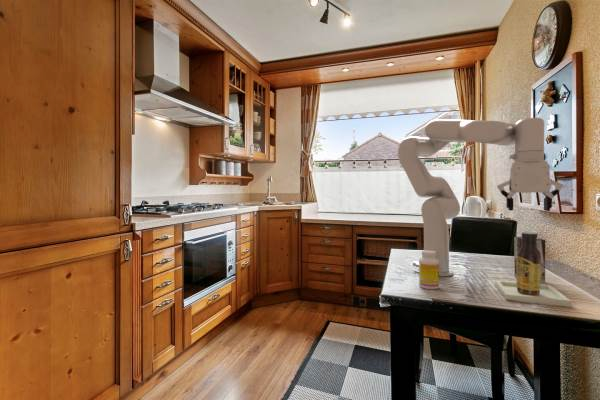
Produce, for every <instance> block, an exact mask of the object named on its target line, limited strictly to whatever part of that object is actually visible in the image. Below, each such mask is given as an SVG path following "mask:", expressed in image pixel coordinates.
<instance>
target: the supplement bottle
mask: <svg viewBox="0 0 600 400" xmlns="http://www.w3.org/2000/svg"><path fill="white" fill-rule="evenodd" d="M421 255H422V257H420V258H419V260H418V262H419V267H418V284H419V286H420V288H422V289H426V290H437V289H439V288H440V276H439V261H438V259H436V258H435V256H436V252H435V251H430V250H424V249H423V250H422V251H421Z"/></svg>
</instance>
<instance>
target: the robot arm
mask: <svg viewBox="0 0 600 400" xmlns="http://www.w3.org/2000/svg"><path fill="white" fill-rule="evenodd" d="M424 133H425V136H426V137H421V136H408V137H406V138H403V140H401V142H400V143H399V146H398V149H397V157H398V160H399V164H400V165H401V167H402V169H403V170H404V172H405V174H406V175H407V178H408V180H409V182H410V184H411V186H412V188H413V190H414V192H415V194H416V195H417V196H418V197H421V198H427V199H426V200H424V202H423V203H422V204H421V205H422V206H421V208H420V209H421V216H422V222H423V245H424V246H423V251H424V250H430V251H435V252H436V256H435V258H436V259H438V261H439V277H451V276H453V275H454V270H453V269H451V268H450V231H449V226H448V222H447V220H450V219H454V218H456V217H458V215H459V213H460V211H461V206H460V203H459V200H458V199H457V196H456V194H455V193H454V191H453V189H452V188H451V186H450V185H449V183H448V181H447V180H446V179H445V178H444V177H441V176H438V175H432V174H431V173H430V172H429V170H428V169H427V167H426V165H425V163H424V162H423V161H422V160H421V159H420V158H419V157H421V158H429V157H432V156H433V155H435V154H436V153H437V152H439V151H441V150H442V149H443V148H444V147H446V146H448V145H449V144H450V143H461V144H464V143H465V142H466V143H467V142H468V143H479V144H488V145H489V144H490V145H496V146H497V145H498V146H506V147H507V146H512V145H514V153H513V154H509V159H510V160H513V161H514V162H512V164H511V166H510V167H511V168H510V173H509V179H508V180H506V181H503V182H502V183H499V184H497V185H496V187H497V190H498V192H499V193H500V194H501V195H502V196H503V197H504V198H505V199H506V206H505V207H506V209H507V210H508V211H514V197H513V196H514V195H516V193H541V194H542V195H543V196H544V198H543V211H545V212H550V211H551V209H552V208H553V198H554V197H556V196H557V195H558V194H559V193H560V191H561V190H562V189H563V187H564V184H563V183H561V182H558V181H556V180H553V179H551V175H550V167H549V163H548V160H545V120H544V119H543V118H541V117H529V118H523V119H520V120H518V121H516V123H509V122H505V121H499V120H481V119H479V120H477V119H476V120H474V119H473V120H472V119H471V120H470V119H442V118H441V119H439V118H438V119H437V118H436V119H432V120H430V121H429V122H427V124H426V125H425V128H424ZM551 185H552V186H554V189H553V190H552V191H550V190H551ZM506 186H507V187H508V186H509V187H508V189H509V191H508V192H507V191H506V190H505V189H504V187H506ZM412 266H414V267H415V268H419V261H415V260H414V261H412Z"/></svg>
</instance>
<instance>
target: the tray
mask: <svg viewBox="0 0 600 400" xmlns="http://www.w3.org/2000/svg"><path fill="white" fill-rule="evenodd" d="M494 286H495V288H496V289H497V290H498V291H499V293H500V295H502V297H503V299H505V301H511V302H519V303H530V304H538V305H539V304H540V305H549V306H559V307H568V308H569V307H570V308H571V307H572V301H571V299H570V298H568V297H567V296H565V294H563V293H561V292H560V291H559V290H557V289H556V288H555V287H554V286H552V285H551V284H546V283H545V284H540V290H539V291H540V293H539V294H538V295H527V294H523V293H520V292H518V291H517V286H516V281H508V280H498V279H497V280H496V279H495V280H494Z"/></svg>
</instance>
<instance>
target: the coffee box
mask: <svg viewBox="0 0 600 400" xmlns="http://www.w3.org/2000/svg"><path fill="white" fill-rule="evenodd" d="M513 239H514V241H513V242H514V243H513V245H514V246H513V247H514V248H513V249H514V250H513V251H514V254H513V255H514V257H513V259H514V260H513V261H514V277H515V278H516V279H517V255H518V253H519V251H520V248H521V246H522V236H514V238H513ZM536 245H537V249H538V251H539V252H540V254H541V277H540V284H546V239H542V238H538V237H537V242H536Z"/></svg>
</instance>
